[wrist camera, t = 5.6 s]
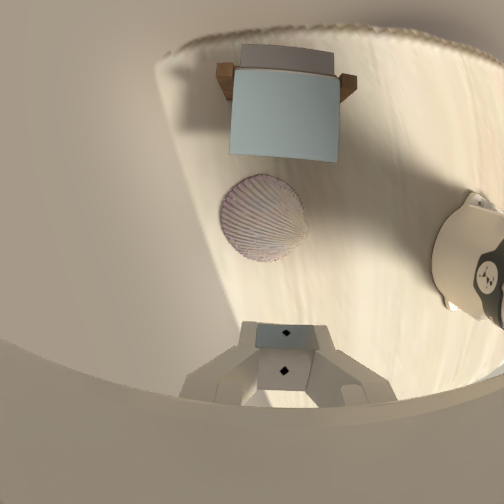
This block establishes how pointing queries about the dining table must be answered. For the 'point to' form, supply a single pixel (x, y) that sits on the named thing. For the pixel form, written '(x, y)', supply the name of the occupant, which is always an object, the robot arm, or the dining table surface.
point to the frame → (227, 70)
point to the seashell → (263, 218)
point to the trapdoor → (285, 104)
